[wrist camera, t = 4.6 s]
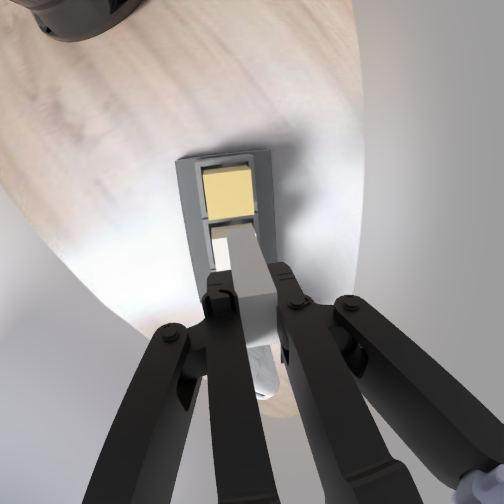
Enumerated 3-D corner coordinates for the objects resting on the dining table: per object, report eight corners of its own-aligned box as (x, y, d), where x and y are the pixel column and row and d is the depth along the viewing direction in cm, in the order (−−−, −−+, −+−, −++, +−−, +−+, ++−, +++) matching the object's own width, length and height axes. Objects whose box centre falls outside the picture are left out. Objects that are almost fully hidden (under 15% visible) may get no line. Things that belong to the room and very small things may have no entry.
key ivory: (211, 228, 27) (211, 239, 24) (251, 222, 27) (256, 233, 25) (216, 263, 29) (217, 277, 26) (254, 258, 29) (259, 272, 26)
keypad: (176, 159, 28) (171, 164, 24) (267, 149, 29) (275, 151, 25) (200, 296, 35) (200, 314, 32) (275, 285, 36) (282, 303, 33)
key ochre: (203, 170, 24) (202, 175, 22) (246, 165, 25) (250, 169, 22) (208, 210, 26) (208, 220, 23) (249, 205, 26) (254, 214, 24)
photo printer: (200, 307, 36) (200, 378, 25) (223, 289, 35) (231, 359, 24) (247, 346, 40) (261, 412, 29) (269, 331, 40) (289, 396, 29)
